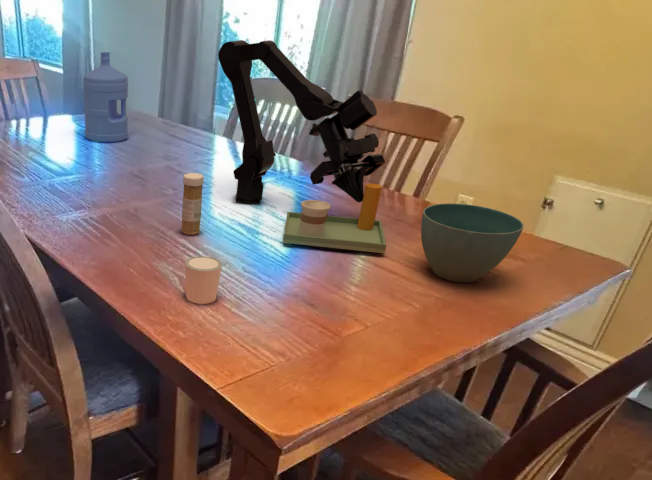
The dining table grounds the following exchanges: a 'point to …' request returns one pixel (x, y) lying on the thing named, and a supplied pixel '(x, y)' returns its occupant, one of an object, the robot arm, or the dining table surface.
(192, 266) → the peach tapered cup
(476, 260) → the dark green bowl
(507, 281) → the dining table surface
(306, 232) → the beige banded cup
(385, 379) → the dining table surface
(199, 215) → the sprinkles bottle
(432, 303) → the dining table surface
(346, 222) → the tray
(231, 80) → the robot arm
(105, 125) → the water jug
